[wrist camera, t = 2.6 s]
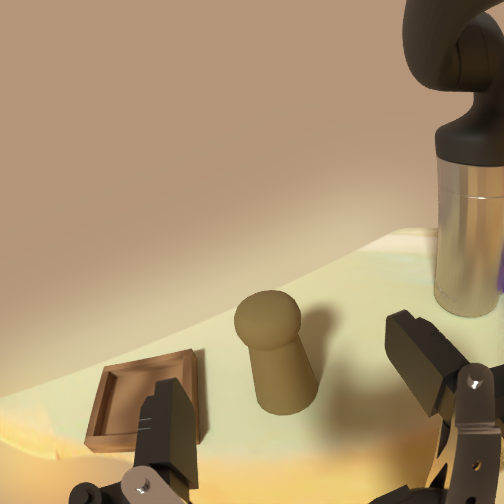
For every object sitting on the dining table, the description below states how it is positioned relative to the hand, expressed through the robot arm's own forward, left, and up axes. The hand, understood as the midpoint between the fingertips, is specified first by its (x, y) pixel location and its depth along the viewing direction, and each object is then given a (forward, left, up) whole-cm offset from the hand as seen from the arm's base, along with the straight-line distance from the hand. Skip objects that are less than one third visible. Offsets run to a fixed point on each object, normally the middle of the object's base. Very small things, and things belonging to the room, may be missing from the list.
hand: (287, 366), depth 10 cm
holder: (+15, -13, -16) cm, 25 cm away
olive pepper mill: (0, -11, -16) cm, 20 cm away
